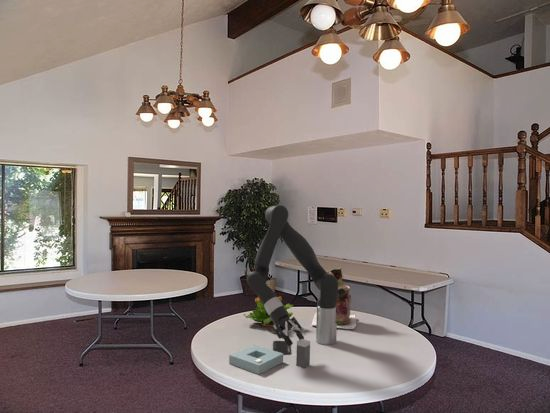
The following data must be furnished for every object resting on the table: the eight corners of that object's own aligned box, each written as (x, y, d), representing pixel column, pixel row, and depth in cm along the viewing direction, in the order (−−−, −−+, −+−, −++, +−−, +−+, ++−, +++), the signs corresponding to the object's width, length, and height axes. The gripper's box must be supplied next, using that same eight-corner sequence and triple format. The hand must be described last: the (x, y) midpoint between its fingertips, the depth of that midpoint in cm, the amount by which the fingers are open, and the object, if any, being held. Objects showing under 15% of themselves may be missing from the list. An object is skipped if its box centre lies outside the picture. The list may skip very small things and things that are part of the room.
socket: (254, 352, 170) (254, 343, 170) (283, 361, 160) (283, 352, 160) (229, 363, 157) (229, 353, 157) (258, 374, 148) (259, 363, 148)
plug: (301, 362, 160) (302, 338, 160) (309, 365, 158) (310, 340, 158) (296, 365, 157) (296, 341, 157) (304, 368, 155) (305, 343, 155)
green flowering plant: (267, 315, 229) (268, 286, 229) (301, 323, 215) (302, 292, 216) (240, 325, 209) (241, 293, 209) (275, 334, 195) (276, 300, 195)
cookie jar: (314, 315, 234) (316, 263, 234) (355, 318, 229) (357, 265, 229) (310, 327, 209) (312, 269, 210) (356, 331, 205) (357, 271, 205)
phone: (289, 341, 184) (290, 352, 169) (289, 343, 184) (290, 355, 169) (272, 340, 184) (272, 352, 169) (272, 343, 184) (272, 354, 169)
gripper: (271, 308, 159) (292, 342, 152) (290, 302, 171) (311, 333, 164) (260, 318, 162) (281, 352, 155) (280, 311, 174) (301, 343, 167)
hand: (297, 342), depth 159 cm, fingers open, 8 cm apart
